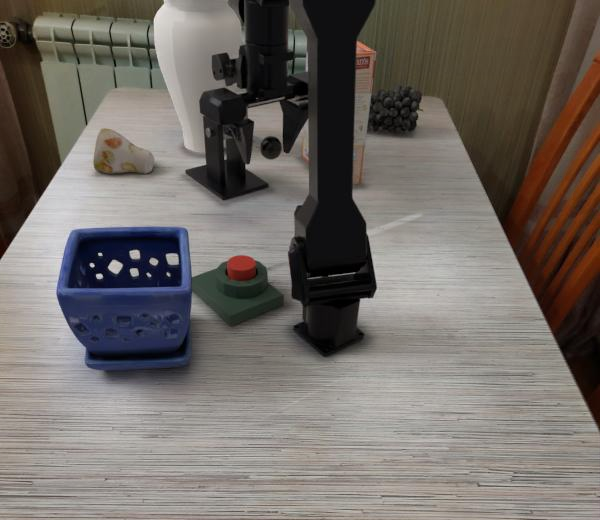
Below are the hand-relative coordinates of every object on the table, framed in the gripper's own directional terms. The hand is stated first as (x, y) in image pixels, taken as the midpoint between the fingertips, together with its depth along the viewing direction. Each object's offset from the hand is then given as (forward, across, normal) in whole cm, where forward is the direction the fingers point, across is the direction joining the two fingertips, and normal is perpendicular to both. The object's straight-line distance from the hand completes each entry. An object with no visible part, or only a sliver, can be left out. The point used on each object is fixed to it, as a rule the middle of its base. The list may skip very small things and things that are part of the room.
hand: (266, 158), depth 90 cm
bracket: (+8, 0, -12) cm, 15 cm away
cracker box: (+9, -18, -6) cm, 21 cm away
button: (+5, +16, +17) cm, 24 cm away
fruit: (+9, -40, -16) cm, 44 cm away
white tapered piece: (+9, +12, -25) cm, 29 cm away
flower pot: (+9, +31, +19) cm, 38 cm away
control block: (+8, +17, +17) cm, 26 cm away
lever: (0, 0, -5) cm, 5 cm away
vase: (+9, -5, -27) cm, 29 cm away
